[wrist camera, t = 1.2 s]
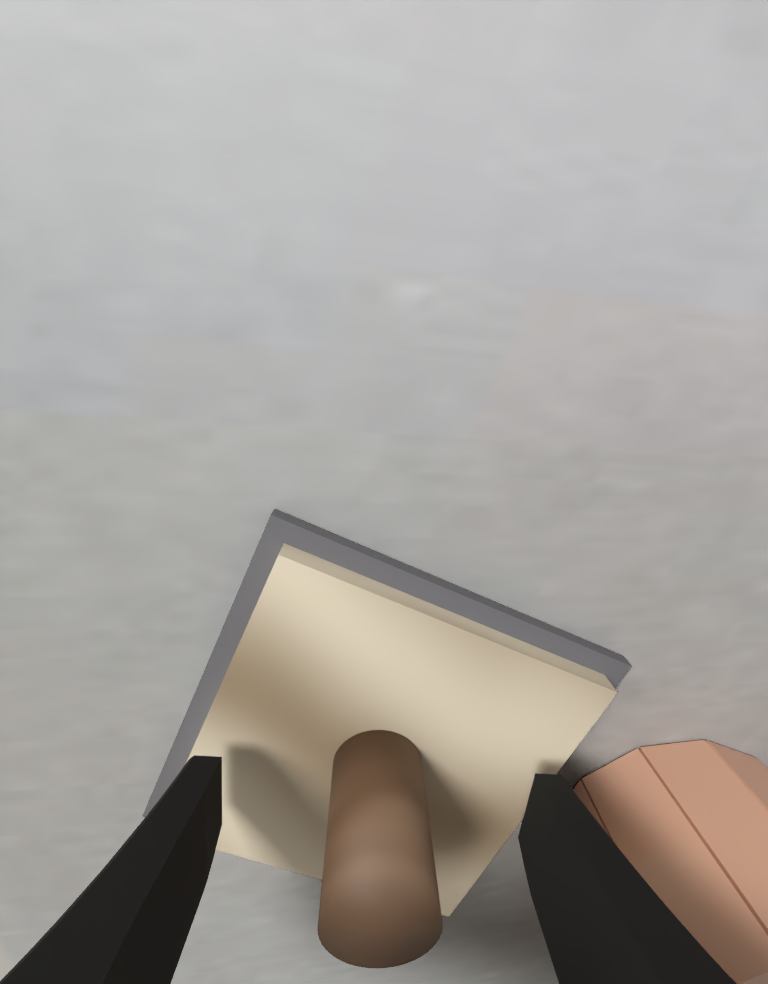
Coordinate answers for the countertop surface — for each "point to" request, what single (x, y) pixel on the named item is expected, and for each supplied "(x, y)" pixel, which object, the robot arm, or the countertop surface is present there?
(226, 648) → the mat
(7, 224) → the countertop surface
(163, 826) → the robot arm
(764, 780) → the bowl
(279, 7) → the countertop surface
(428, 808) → the cover
